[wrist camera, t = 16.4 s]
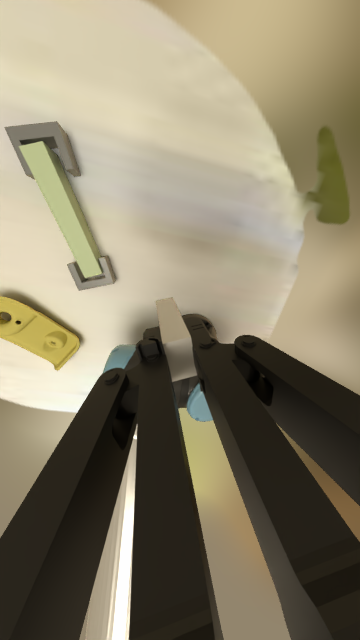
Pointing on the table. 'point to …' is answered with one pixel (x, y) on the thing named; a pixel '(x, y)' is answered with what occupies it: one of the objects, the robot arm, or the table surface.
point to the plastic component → (37, 333)
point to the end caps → (58, 139)
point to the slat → (63, 205)
